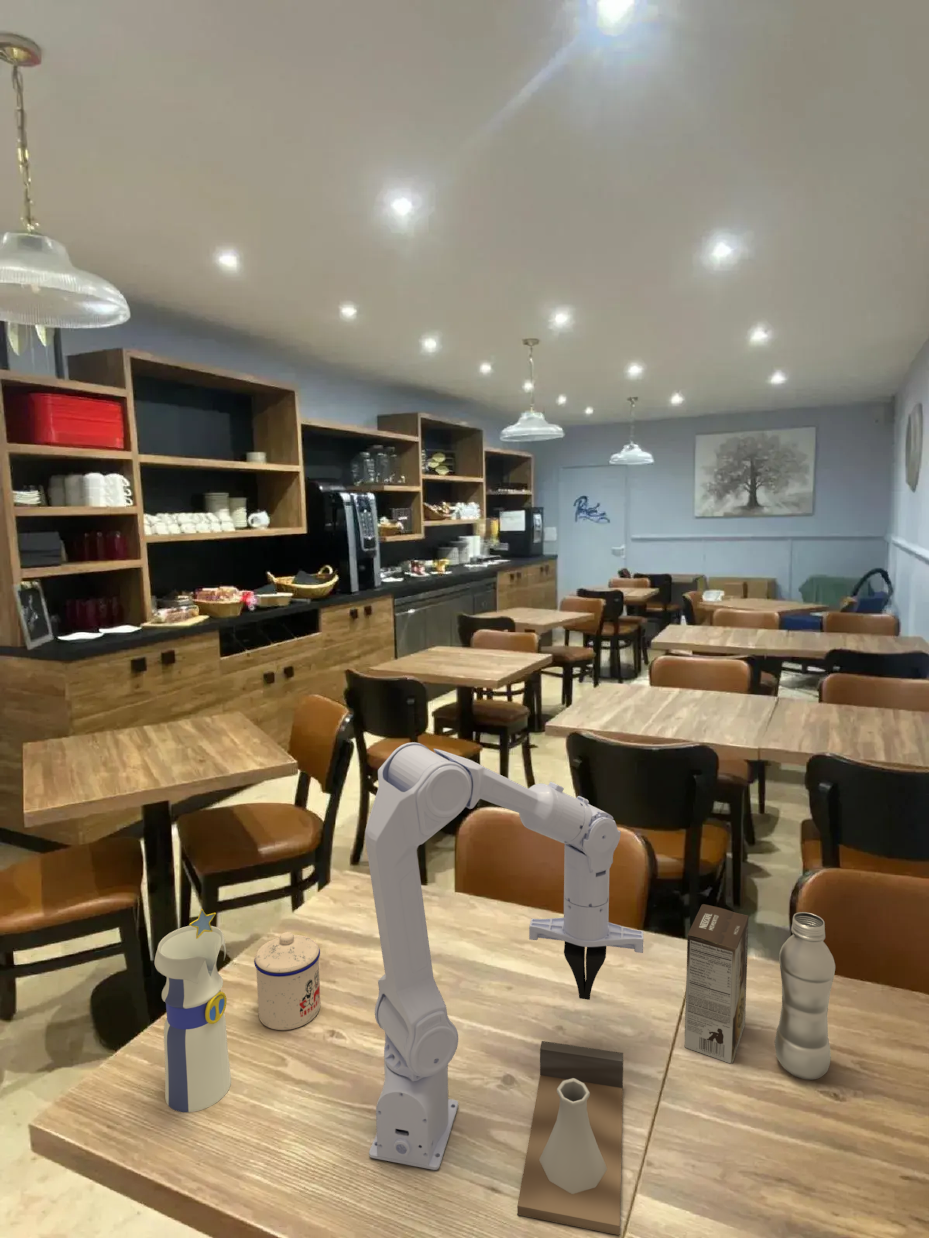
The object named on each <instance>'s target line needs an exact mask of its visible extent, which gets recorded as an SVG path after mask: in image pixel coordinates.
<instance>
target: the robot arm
mask: <svg viewBox="0 0 929 1238" xmlns="http://www.w3.org/2000/svg"><path fill="white" fill-rule="evenodd" d="M377 779H378V780H377V783H378V787H377V792H376V794H375V797H374V801H373V803H372V807H371V810H370V814H369V816H368V820H367V823H366V827H365V831H364V839H365V847H366V854H367V860H368V861H367V862H368V866H369V874H370V881H371V888H372V894H373V899H374V900H373V901H374V908H375V909H374V910H375V915H376V921H377V927H378V934H379V941H380V947H381V948H380V950H381V954H382V961H383V962H382V963H383V970H384V974H383V975H382V976H381V977H380V978H378V980H377V986H378V996H377V1000H376V1003H375V1007H374V1017H375V1018H374V1019H375V1021H376V1024H377V1025H378V1027H379V1028H381V1030H383V1031H384V1050H383V1051H384V1052H383V1062H384V1066H383V1068H384V1081H383V1086H382V1089H381V1092H380V1095H379V1098H378V1099H377V1103H376V1107H375V1119H376V1120H375V1122H376V1134H375V1137H374V1139H373V1141H372V1144H371V1146H370V1148H369V1150H368V1155H369V1157H370V1158H372V1159H376V1160H381V1161H385V1162H387V1161H388V1162H392V1163H398V1164H400V1165H407V1166H412V1167H419V1168H424V1169H428V1170H432V1171H437V1170H439V1168H440V1167H441V1164H442V1161H443V1157H444V1154H445V1151H446V1147H447V1144H448V1141H449V1138H450V1135H451V1131H452V1128H453V1124H454V1121H455V1118H456V1116H457V1115H456V1114H457V1110H458V1109H459V1101H458V1100H456V1099H452V1098H449V1075H448V1074H449V1064H450V1062H452V1059H453V1058H454V1056H455V1054H456V1052H457V1049H458V1045H459V1032H458V1029H457V1027H456V1025H454V1024H453V1022H452V1021H451V1020H450V1018H449V1014H448V1009H447V1005H446V1003H445V999H444V998H443V995H442V994H441V991H440V990H439V989H440V988H439V987H438V985H437V982H436V981H435V978H434V972H433V964H432V956H431V947H430V940H429V934H428V926H427V919H426V911H425V904H424V897H423V896H424V895H423V889H422V882H421V874H420V867H419V859H418V851H417V850H418V848H419V846H420V845H423V844H424V843H426V842H427V841H428V840H429V839H430V838H432V837H433V836H435V834H436V833H438V832H439V831H440V830H441V829H443V828H444V827H446V825H448V824H449V823H450V822H451V821H453V820H454V819H455V818H457V816H459V814H461V813H462V811H464V809H465V808H467V809H469V810H471V809H473V808H475V807H476V805H477V803H478V802H479V801H480V800H482V801H485V802H488V803H491V804H494V805H496V806H500V807H502V808H504V809H507V810H509V811H513V812H515V813H517V814H518V815H519V819H520V822H521V823H522V825H523V826H524V828H526V829H528V830H530V831H533V832H534V833H537V834H539V835H541V836H545V837H547V838H549V839H552V840H554V841H556V842H559V843H561V844H564V854H563V855H564V858H563V859H564V861H563V862H564V863H563V864H564V865H563V866H564V867H563V868H564V869H563V870H564V871H563V876H564V877H563V878H564V879H563V880H564V881H563V884H564V885H563V917H554V918H553V917H552V918H531V919H530V922H529V927H528V929H529V930H528V937H529V938H528V939H529V940H531V941H537V940H538V939H543V940H544V939H546V940H555V941H561V942H562V941H563V942H564V948H563V955H564V959H565V960H566V961H567V963H568V965H569V967H570V969H571V970H570V971H572V974H573V977H574V980H575V982H576V987H577V992H578V998H579V999H580V1000H591V993H592V989H593V986H594V983H595V980H596V977H597V975H598V973H599V971H600V970H601V968H602V967H603V964H604V963H605V960H606V958H607V947H613V948H623V949H629V950H633V951H634V952H635V953H640V954H643V953H644V940H645V939H644V930H640V929H639V930H638V929H632V928H630V927H626V926H622V925H620V924H616V923H612V922H610V921H609V918H610V917H609V912H610V911H609V910H610V908H609V905H610V904H609V903H610V868H611V867H612V864H613V863H614V858H613V857H614V854H615V850H616V849H617V847H618V844H619V843H620V839H621V834H622V831H621V830H619V829H618V826H617V823H616V821H615V820H614V817H613V815H611V814H610V813H608V812H606V811H604V810H601V809H600V808H598V807H596V806H593V805H591V804H590V802H589V800H588V799H587V798H585V797H582V796H581V795H578V796H576V797H574V796H572V795H570V794H567V792H566V793H565V792H564V788H565V787H563V786H562V785H560V784H557V783H556V782H554V781H549V783H548V784H546V783H543V782H542V783H541V782H540V783H535V784H533V785H531V786H529V787H526V786H524V785H522V784H519V782H516V781H513V780H512V779H510V778H509V777H506V776H503V775H501V774H500V773H497V772H495V771H493V770H491V769H490V768H487V767H485V766H484V765H482V764H479V763H477V762H475V761H474V760H472V759H469V758H467V757H466V758H465V757H463V756H460V755H457V754H454V753H451V752H448V751H445V750H442V749H439V748H433V751H432V750H431V749H429V747H427V746H426V745H424V744H422V743H419V742H415V741H414V742H413V741H412V742H406V743H404V744H401V745H399V747H396V749H395V750H393V751H392V752H391V754H389V756H388V757H387V758H386V760H385V761H384V762H383V763H382V764H381V766H380V767H379V768H378V769H377Z"/></svg>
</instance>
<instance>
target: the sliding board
mask: <svg viewBox="0 0 929 1238" xmlns="http://www.w3.org/2000/svg"><path fill="white" fill-rule="evenodd" d="M540 1042H541V1043H540V1047H539V1048H540V1049H539V1079H538V1086H537V1089H536V1090H537V1092H536V1095H535V1102H534V1109H533V1112H532V1119H531V1126H530V1129H529V1130H530V1131H529V1137H528V1144H527V1149H526V1154H525V1161H524V1165H523V1170H522V1171H523V1172H522V1178H521V1182H520V1189H519V1194H518V1200H517V1211H516V1212H517V1215H518V1216H523V1217H527V1218H531V1219H538V1220H541V1221H547V1222H553V1223H558V1224H563V1225H567V1226H573V1227H577V1228H582V1229H586V1230H592V1231H598V1232H601V1233H607V1234H612V1235H617V1236H620V1233H621V1232H620V1231H621V1190H622V1189H621V1184H622V1183H621V1182H622V1181H621V1180H622V1139H623V1137H622V1136H623V1134H622V1133H623V1099H624V1098H623V1096H624V1095H623V1093H624V1092H623V1091H624V1090H623V1087H624V1086H623V1085H624V1052H619V1051H612V1050H608V1049H600V1048H592V1047H586V1046H579V1045H573V1044H566V1043H558V1042H552V1041H546V1040H541V1041H540ZM572 1078H575V1079H577V1080H579V1081H581V1082H583V1083H584V1084H585V1085H586V1087H587V1089H588V1091H589V1092H590V1096H589V1098H588V1099H587V1113H588V1118H589V1123H590V1126H591V1129H592V1132H593V1135H594V1137H595V1140H596V1143H597V1145H598V1148H599V1150H600V1153H601V1155H602V1157H603V1160H604V1162H605V1165H606V1167H607V1170H606V1172H605V1173H604V1175H603V1177H602V1178H601V1180H600V1181H599V1183H598V1184H597V1186H596V1187H595V1188H591V1189H588V1190H584V1191H581V1192H577V1193H574V1194H571V1193H569V1192H568V1191H566V1190H564V1189H563V1188H561V1187H559V1186H557V1185H556V1184H554V1183H552V1182H551V1181H549V1179H548V1177H547V1175H546V1173H545V1171H544V1169H543V1167H542V1165H541V1163H540V1161H539V1159H540V1157H541V1155H542V1153H543V1150H544V1148H545V1146H546V1144H547V1142H548V1140H549V1137H550V1135H551V1133H552V1130H553V1128H554V1125H555V1123H556V1121H557V1116H558V1111H559V1107H560V1097H559V1095H558V1093H557V1088H558V1087H559V1085H560V1084H561V1083H562V1081H564V1080H568V1079H572Z"/></svg>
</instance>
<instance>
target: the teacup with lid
mask: <svg viewBox="0 0 929 1238" xmlns="http://www.w3.org/2000/svg"><path fill="white" fill-rule="evenodd" d="M320 957H321V949H320V947H319V944H318V942H316V941H315V940H314V939H313V938H311V937H309V936H305V935H301V934H294V933H293V932H291V931H285V932H283V933H281V934H280V935H279V936H278V937H275V938H273V939H270V940H269V941H267V942H265V943H264V944H262V945H261V946H260V947H259V949H258V950H257V952H256V953H255V956H254V961H253V962H254V967H255V968H256V984H257V985H256V988H257V989H256V990H257V1005H258V1006H257V1008H258V1009H257V1011H258V1018H259V1020H260V1022H261V1023H262V1024H263V1025H264V1026H265V1027H267V1028H269V1029H272V1030H277V1031H289V1030H294V1029H297V1028H299V1027H303V1026H304V1025H306V1024H308V1023H310V1022H311V1021H312V1020H314V1018H315V1017H316V1016H317V1015H318V1013H319V1011H320V1008H321V984H320V981H321V980H320V960H319V958H320Z"/></svg>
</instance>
